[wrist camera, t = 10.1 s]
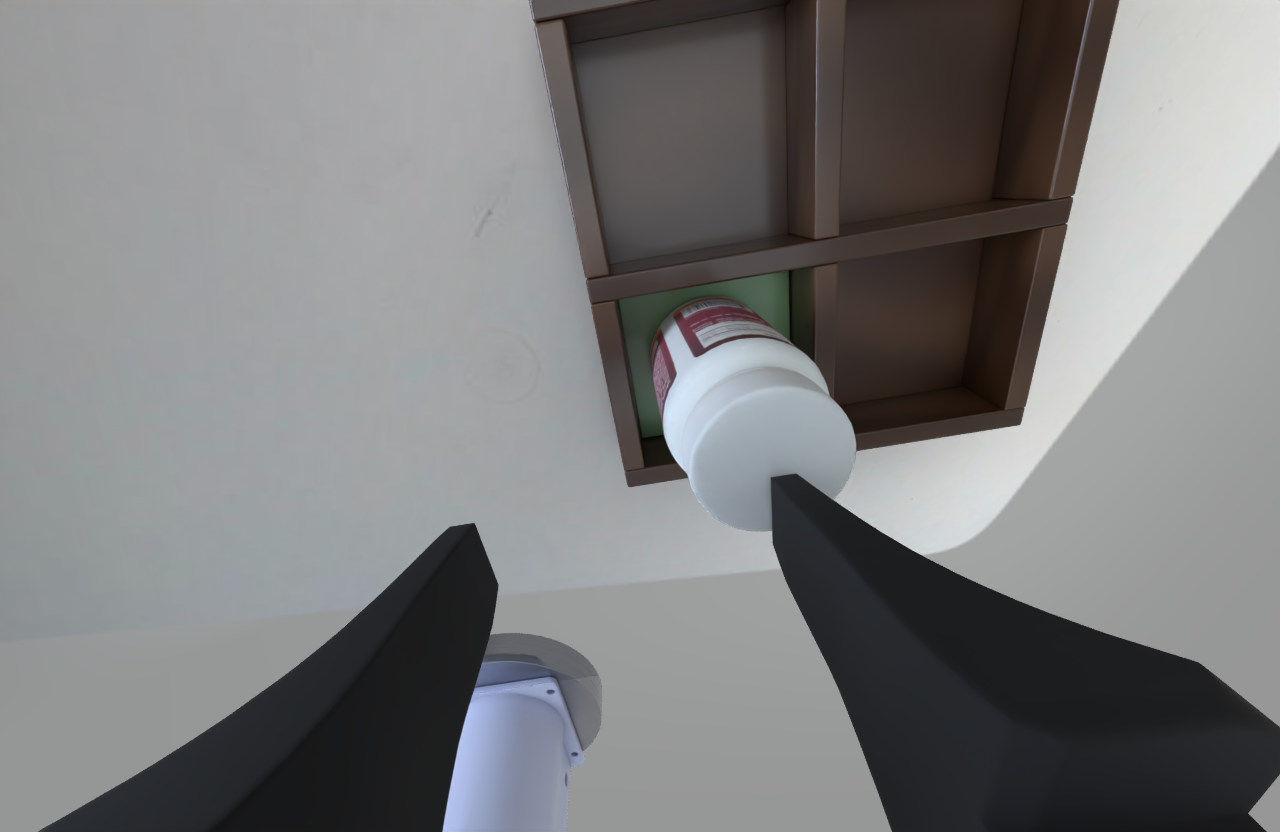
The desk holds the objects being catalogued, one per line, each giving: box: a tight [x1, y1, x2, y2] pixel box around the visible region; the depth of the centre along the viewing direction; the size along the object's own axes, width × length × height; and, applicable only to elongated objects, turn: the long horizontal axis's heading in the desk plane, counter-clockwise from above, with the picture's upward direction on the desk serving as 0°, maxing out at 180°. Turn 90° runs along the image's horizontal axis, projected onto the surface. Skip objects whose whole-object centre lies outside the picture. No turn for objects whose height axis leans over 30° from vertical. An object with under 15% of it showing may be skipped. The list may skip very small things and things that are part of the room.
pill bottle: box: [650, 296, 856, 531], centre depth 15 cm, size 5×5×8 cm
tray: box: [529, 0, 1119, 487], centre depth 16 cm, size 15×15×3 cm
